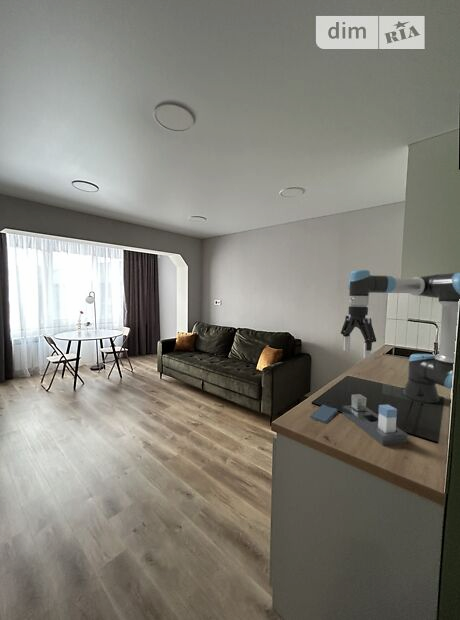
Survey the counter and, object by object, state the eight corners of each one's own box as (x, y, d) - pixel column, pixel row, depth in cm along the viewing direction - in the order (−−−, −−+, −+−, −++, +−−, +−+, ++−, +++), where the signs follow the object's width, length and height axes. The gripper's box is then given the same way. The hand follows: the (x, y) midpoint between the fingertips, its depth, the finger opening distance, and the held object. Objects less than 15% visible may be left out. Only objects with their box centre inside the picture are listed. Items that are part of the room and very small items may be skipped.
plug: (386, 434, 96) (388, 404, 96) (395, 440, 92) (397, 409, 91) (377, 435, 96) (378, 405, 95) (385, 441, 92) (387, 410, 91)
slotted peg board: (362, 411, 114) (363, 392, 114) (406, 442, 91) (408, 418, 90) (342, 413, 113) (343, 393, 112) (382, 445, 89) (383, 420, 89)
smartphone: (308, 416, 108) (322, 404, 119) (308, 419, 109) (322, 407, 120) (325, 422, 103) (338, 409, 114) (325, 426, 104) (338, 412, 114)
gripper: (334, 304, 120) (332, 347, 121) (371, 307, 95) (368, 361, 96) (348, 304, 121) (346, 347, 122) (388, 307, 96) (385, 361, 98)
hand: (356, 354), depth 109 cm, fingers open, 13 cm apart
